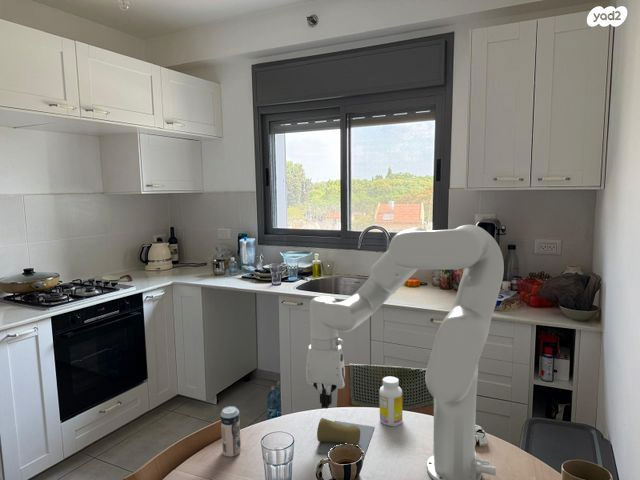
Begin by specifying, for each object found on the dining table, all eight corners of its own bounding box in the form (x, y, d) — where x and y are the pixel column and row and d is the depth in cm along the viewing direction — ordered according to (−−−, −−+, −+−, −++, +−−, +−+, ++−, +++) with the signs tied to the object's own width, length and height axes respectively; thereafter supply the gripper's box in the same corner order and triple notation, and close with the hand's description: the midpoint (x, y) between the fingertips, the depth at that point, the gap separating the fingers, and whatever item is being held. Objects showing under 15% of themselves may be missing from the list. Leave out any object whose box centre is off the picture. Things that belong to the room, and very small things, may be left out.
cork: (320, 444, 119) (359, 451, 115) (315, 437, 114) (355, 445, 110) (325, 421, 122) (363, 428, 118) (320, 414, 118) (359, 421, 114)
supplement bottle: (402, 416, 130) (402, 375, 128) (402, 428, 123) (401, 385, 122) (380, 414, 131) (380, 373, 130) (378, 425, 125) (378, 383, 123)
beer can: (239, 457, 111) (237, 413, 110) (221, 458, 111) (219, 415, 110) (242, 446, 116) (240, 404, 115) (224, 447, 116) (222, 405, 114)
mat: (374, 427, 124) (374, 426, 124) (362, 461, 109) (362, 460, 109) (334, 421, 128) (334, 420, 127) (317, 453, 112) (317, 452, 112)
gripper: (354, 339, 118) (355, 403, 120) (303, 335, 123) (305, 396, 125) (347, 349, 111) (348, 416, 113) (293, 344, 116) (295, 408, 118)
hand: (325, 405), depth 119 cm, fingers closed
